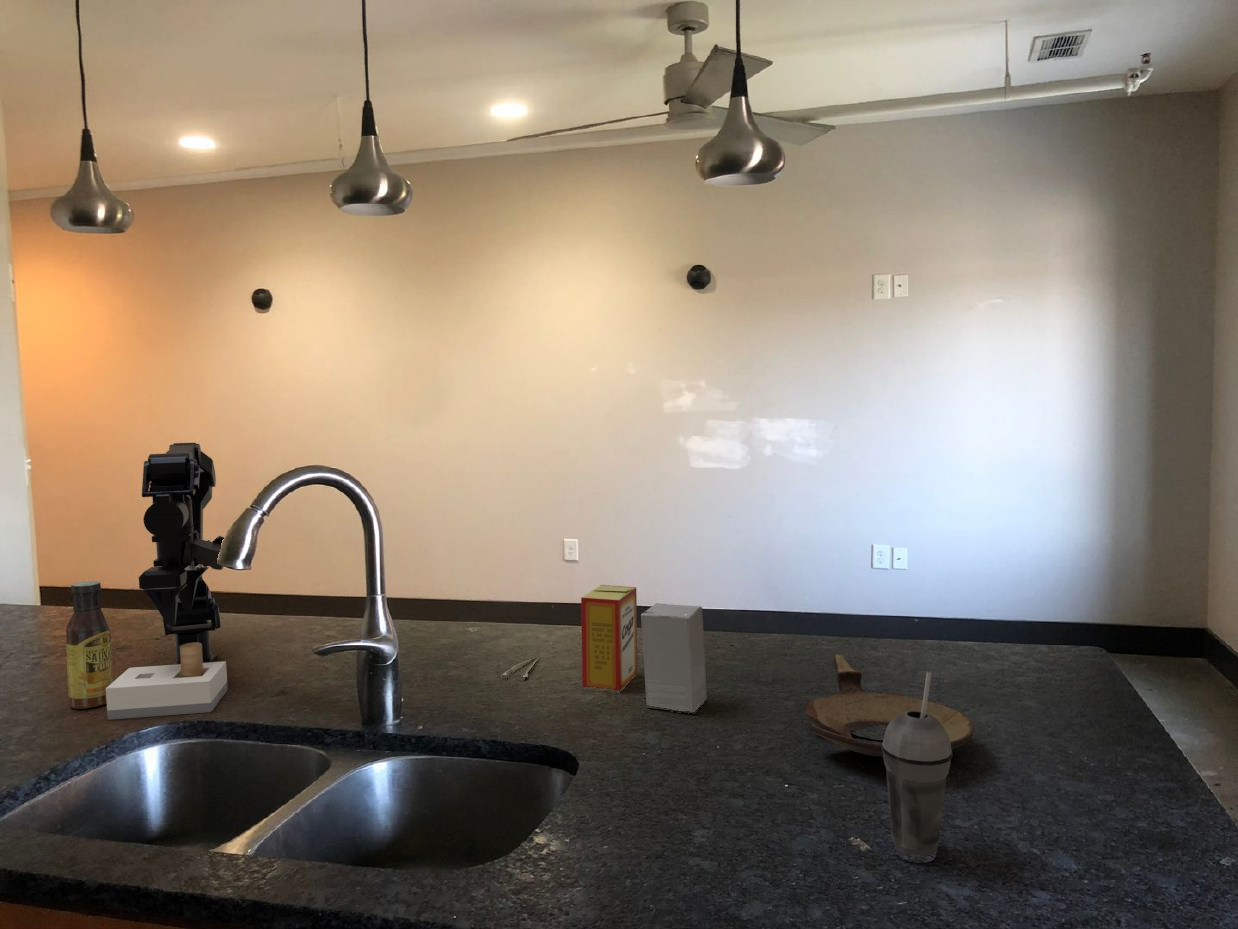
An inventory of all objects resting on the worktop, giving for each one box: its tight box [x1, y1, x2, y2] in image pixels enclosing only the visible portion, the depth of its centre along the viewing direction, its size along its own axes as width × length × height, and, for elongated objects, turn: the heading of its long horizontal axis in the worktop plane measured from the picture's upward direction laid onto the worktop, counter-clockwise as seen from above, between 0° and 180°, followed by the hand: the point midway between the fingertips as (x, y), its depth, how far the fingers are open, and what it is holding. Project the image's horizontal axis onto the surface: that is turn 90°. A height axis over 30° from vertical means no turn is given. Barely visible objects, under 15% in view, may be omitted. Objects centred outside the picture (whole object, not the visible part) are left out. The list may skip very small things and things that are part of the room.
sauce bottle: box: [65, 580, 114, 710], centre depth 141 cm, size 6×6×20 cm
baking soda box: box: [580, 584, 638, 691], centre depth 149 cm, size 10×6×16 cm
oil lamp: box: [804, 653, 975, 758], centre depth 124 cm, size 22×30×8 cm
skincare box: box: [640, 603, 708, 713], centre depth 137 cm, size 8×7×16 cm
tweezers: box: [501, 658, 537, 678], centre depth 159 cm, size 17×5×2 cm, turn 165°
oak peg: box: [180, 643, 203, 678], centre depth 142 cm, size 3×3×8 cm
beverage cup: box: [881, 671, 953, 856], centre depth 94 cm, size 7×7×20 cm
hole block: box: [106, 661, 229, 721], centre depth 141 cm, size 10×15×5 cm, turn 100°
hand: (180, 617), depth 149 cm, fingers open, 9 cm apart
